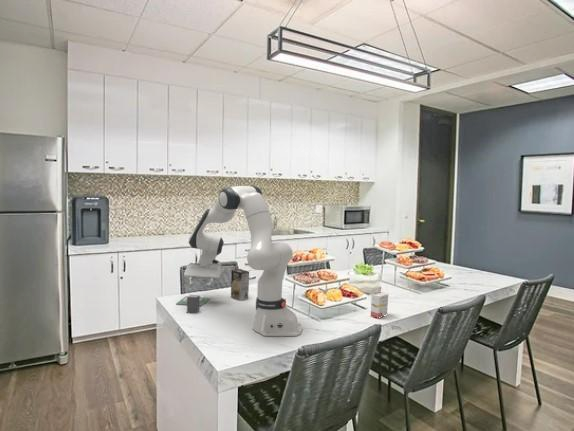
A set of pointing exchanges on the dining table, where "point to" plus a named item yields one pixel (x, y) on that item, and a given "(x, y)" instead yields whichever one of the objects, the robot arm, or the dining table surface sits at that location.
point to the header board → (184, 301)
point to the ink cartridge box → (379, 303)
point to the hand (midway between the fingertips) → (199, 285)
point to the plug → (193, 304)
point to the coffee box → (239, 284)
